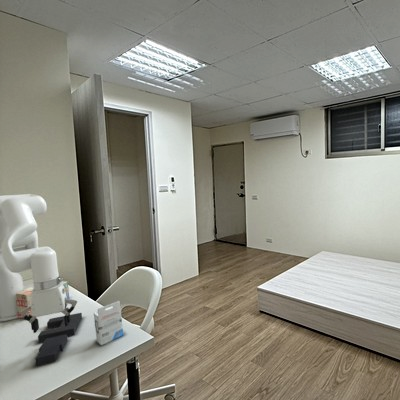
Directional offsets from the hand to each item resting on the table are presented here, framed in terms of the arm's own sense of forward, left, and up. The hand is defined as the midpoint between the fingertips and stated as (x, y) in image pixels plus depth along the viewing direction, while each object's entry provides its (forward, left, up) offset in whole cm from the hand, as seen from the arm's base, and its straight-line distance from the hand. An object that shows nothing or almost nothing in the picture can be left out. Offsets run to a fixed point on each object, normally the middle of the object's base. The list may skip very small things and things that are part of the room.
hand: (52, 327), depth 100 cm
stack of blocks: (-15, +42, -9) cm, 46 cm away
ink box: (+19, -2, -9) cm, 21 cm away
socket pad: (-1, +14, -8) cm, 17 cm away
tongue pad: (0, -3, -8) cm, 9 cm away
